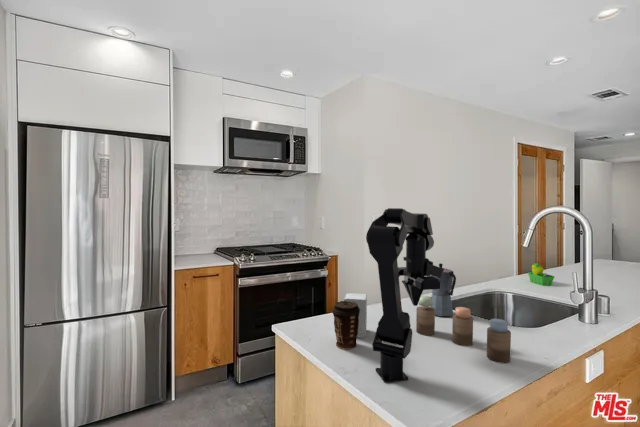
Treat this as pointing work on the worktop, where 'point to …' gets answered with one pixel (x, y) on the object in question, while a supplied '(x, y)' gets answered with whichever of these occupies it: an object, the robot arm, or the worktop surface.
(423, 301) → the sage button
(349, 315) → the coffee cup
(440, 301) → the moka pot
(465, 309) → the terracotta button
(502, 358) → the button stands
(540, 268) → the fruit basket
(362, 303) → the supplement box
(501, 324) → the slate-blue button
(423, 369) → the worktop surface
